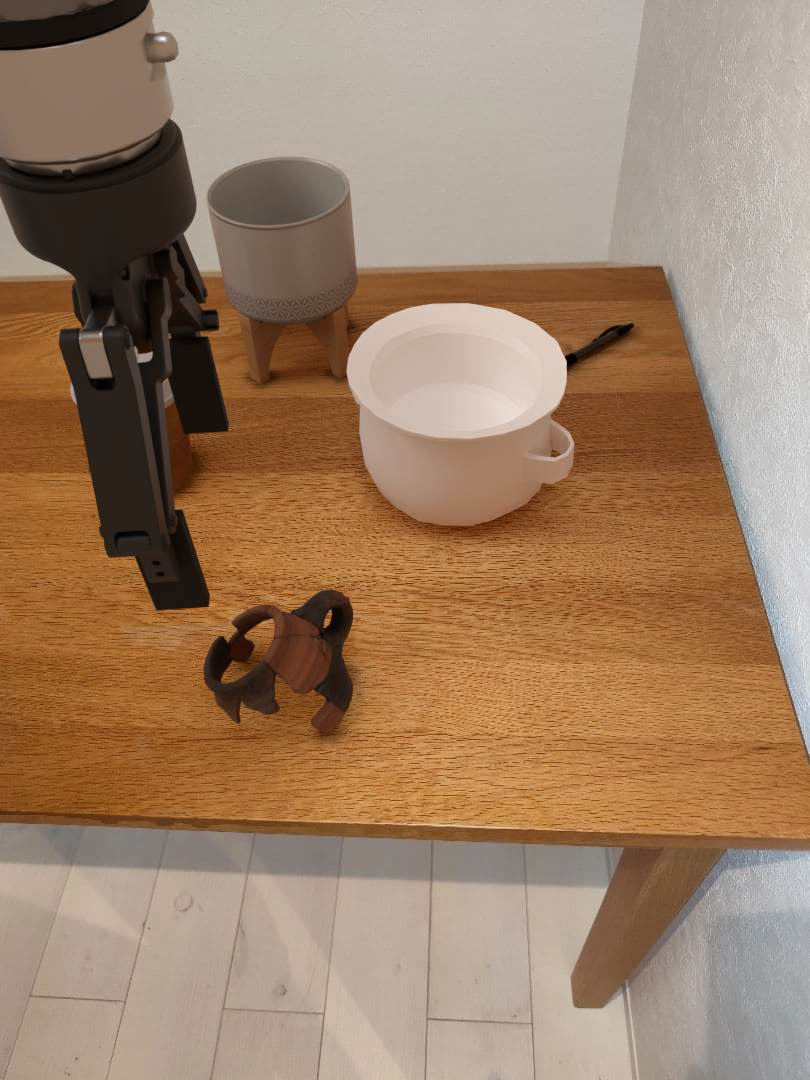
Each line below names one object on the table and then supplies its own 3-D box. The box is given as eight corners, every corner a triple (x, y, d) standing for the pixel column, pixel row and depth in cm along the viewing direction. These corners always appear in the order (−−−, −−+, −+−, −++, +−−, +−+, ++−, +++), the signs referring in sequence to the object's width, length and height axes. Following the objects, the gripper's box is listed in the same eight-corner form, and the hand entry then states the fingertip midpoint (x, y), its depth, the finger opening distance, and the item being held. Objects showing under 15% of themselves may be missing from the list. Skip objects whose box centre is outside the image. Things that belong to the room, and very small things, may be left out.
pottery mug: (313, 777, 62) (236, 718, 57) (243, 735, 69) (170, 679, 64) (407, 637, 66) (343, 571, 61) (332, 611, 73) (269, 549, 68)
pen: (624, 324, 95) (625, 315, 94) (636, 331, 94) (637, 322, 93) (527, 378, 89) (528, 368, 89) (538, 386, 89) (539, 376, 88)
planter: (302, 301, 100) (280, 143, 87) (388, 345, 94) (379, 183, 81) (214, 357, 94) (176, 195, 80) (300, 407, 88) (274, 242, 74)
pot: (300, 479, 81) (281, 371, 72) (413, 381, 90) (410, 273, 81) (504, 590, 72) (513, 481, 63) (608, 467, 81) (629, 357, 72)
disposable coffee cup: (85, 483, 82) (40, 378, 73) (159, 425, 87) (126, 320, 78) (158, 524, 78) (121, 419, 69) (232, 461, 83) (206, 355, 74)
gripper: (132, 309, 27) (249, 692, 42) (206, 13, 43) (271, 368, 59) (-122, 325, 26) (91, 703, 42) (51, 22, 43) (157, 375, 59)
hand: (196, 508), depth 51 cm, fingers open, 13 cm apart
